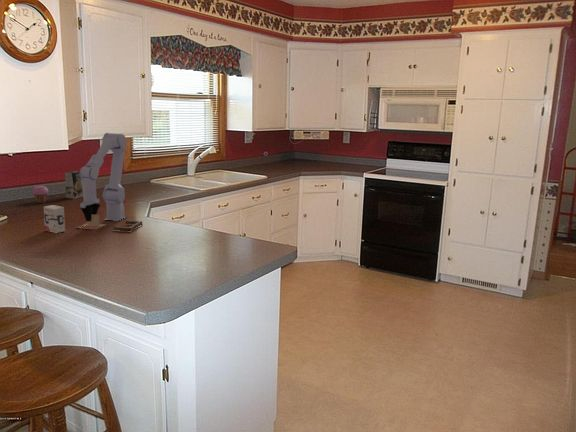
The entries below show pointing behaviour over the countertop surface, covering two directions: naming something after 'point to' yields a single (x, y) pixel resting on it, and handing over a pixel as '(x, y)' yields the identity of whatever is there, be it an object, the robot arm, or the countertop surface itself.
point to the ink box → (54, 218)
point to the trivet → (94, 226)
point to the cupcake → (40, 193)
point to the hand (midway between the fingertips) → (90, 219)
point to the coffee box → (73, 185)
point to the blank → (94, 220)
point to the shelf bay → (136, 224)
